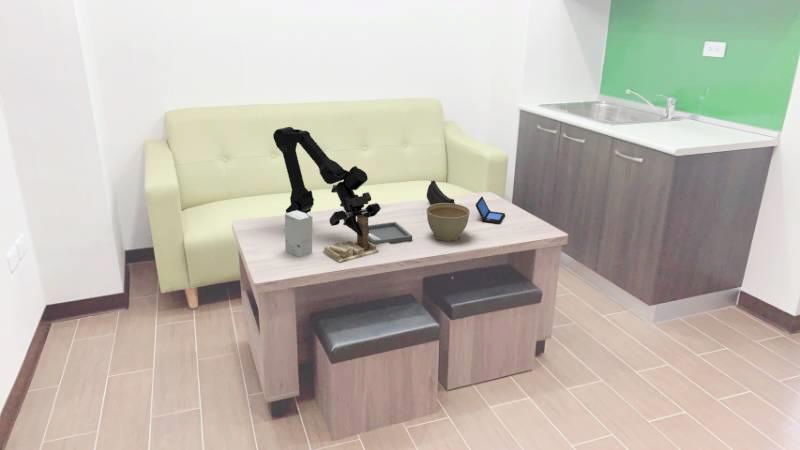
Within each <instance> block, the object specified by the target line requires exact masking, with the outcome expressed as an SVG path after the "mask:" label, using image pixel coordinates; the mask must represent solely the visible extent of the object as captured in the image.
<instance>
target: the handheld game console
mask: <svg viewBox="0 0 800 450" xmlns="http://www.w3.org/2000/svg"><path fill="white" fill-rule="evenodd" d="M475 208H476V210H477V212H478V214H479V216H480V217H481V222H482V223H488V224H494V225H500V224H501V223H502V221H503V220H504V218H505V216H506V213H505V212H497V211H491V210H490V209H489V207H488V204H487V203H486V201H485V199H484V197H483V196H481V197H480V198H479V199H478V200H477V202H476V203H475Z"/></svg>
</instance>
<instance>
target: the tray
mask: <svg viewBox="0 0 800 450" xmlns="http://www.w3.org/2000/svg"><path fill="white" fill-rule="evenodd" d="M368 228H369V234H371V235H372V236H375V237H376V238H378V239H375V240H374V239H373V238H372V236H370V235H369V234H368V241H369V242H371V243H372V244H374V245H380V244H386V243H387V244H389V245H393V244H399V243H400V244H401V243H406V242H407V243H408V242H412V241H413V235H412V234H411V233H410V232H408V231H407V230H406V229H405V228H404V227H402V225H400V224H399V223H398V222H397V221H394V222H393V221H391V222H382V223H375V224H370V225H369V224H368Z"/></svg>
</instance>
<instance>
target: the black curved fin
mask: <svg viewBox="0 0 800 450" xmlns="http://www.w3.org/2000/svg"><path fill="white" fill-rule="evenodd" d="M436 182H437V181H435V180H431V181H430V184H429V185H428V188H427V192H426V199H427V201H428V203H429V205H430V206H431V205H434V204H439V203H452V204H456V203H455V199H454V198H449V197H448V196H447V195H446V194H445V193H444V192H443V191H442V190H441V189H440V187H439V186H438V184H437V183H436Z"/></svg>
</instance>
